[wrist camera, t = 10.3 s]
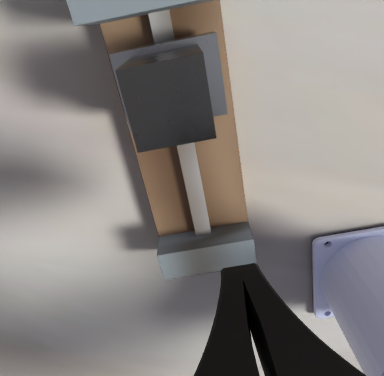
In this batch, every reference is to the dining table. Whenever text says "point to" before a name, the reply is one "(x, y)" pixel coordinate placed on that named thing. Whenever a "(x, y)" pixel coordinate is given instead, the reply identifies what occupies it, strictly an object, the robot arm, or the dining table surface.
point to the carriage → (171, 90)
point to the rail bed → (192, 162)
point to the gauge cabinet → (119, 9)
